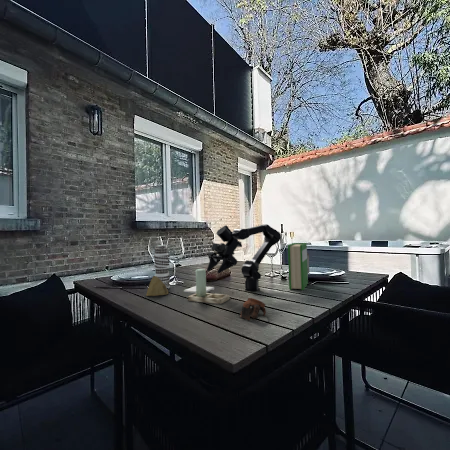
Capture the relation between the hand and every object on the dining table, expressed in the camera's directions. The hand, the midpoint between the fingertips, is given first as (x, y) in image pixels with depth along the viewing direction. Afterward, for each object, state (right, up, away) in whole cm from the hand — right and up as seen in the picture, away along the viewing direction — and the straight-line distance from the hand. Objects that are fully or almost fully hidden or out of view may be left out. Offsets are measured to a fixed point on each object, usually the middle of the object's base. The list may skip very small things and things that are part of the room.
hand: (212, 271), depth 143 cm
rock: (-29, -14, +10) cm, 34 cm away
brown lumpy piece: (+17, -13, -32) cm, 39 cm away
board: (-8, -13, +15) cm, 21 cm away
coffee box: (+57, -11, +42) cm, 72 cm away
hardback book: (+47, -12, +19) cm, 52 cm away
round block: (-5, -12, -4) cm, 14 cm away
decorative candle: (-31, -14, +27) cm, 44 cm away
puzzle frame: (-2, -13, -6) cm, 14 cm away
